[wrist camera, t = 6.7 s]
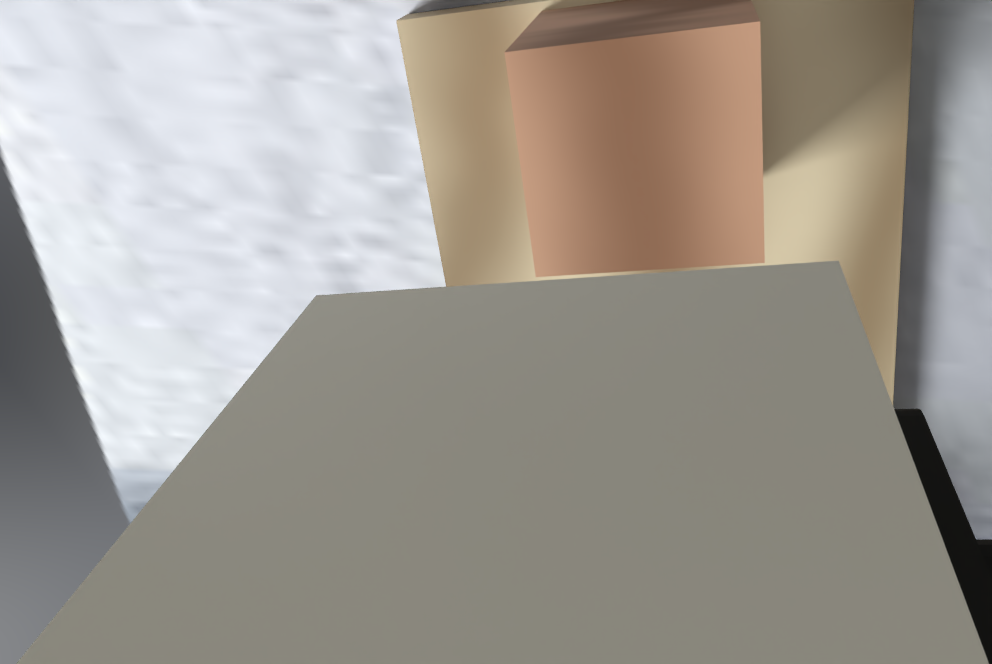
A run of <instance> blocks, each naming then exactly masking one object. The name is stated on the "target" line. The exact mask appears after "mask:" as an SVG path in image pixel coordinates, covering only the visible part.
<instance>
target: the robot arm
mask: <svg viewBox="0 0 992 664" xmlns="http://www.w3.org/2000/svg"><path fill="white" fill-rule="evenodd" d="M894 410H895V413H896V416H897V418H898V421H899V424H900V426H901V429H902V432H903V434H904V437H905V440H906V442H907V445H908V448H909V450H910V453H911V456H912V459H913V461H914V464H915V467H916V469H917V472H918V475H919V477H920V480H921V483H922V485H923V488H924V491H925V493H926V496H927V499H928V501H929V504H930V507H931V510H932V512H933V515H934V518H935V520H936V523H937V526H938V528H939V531H940V534H941V536H942V539H943V542H944V544H945V547H946V550H947V552H948V555H949V558H950V560H951V563H952V566H953V569H954V571H955V574H956V577H957V579H958V582H959V585H960V587H961V590H962V593H963V595H964V598H965V601H966V603H967V606H968V609H969V611H970V614H971V617H972V619H973V622H974V625H975V628H976V630H977V633H978V636H979V638H980V641H981V644H982V646H983V649H984V652H985V654H986V657H987V660H988V662H989V664H992V540H976V539H975V536H974V534H973V531H972V529H971V527H970V524H969V522H968V520H967V517H966V515H965V512H964V510H963V508H962V505H961V503H960V500H959V498H958V496H957V493H956V491H955V489H954V486H953V484H952V481H951V479H950V477H949V474H948V472H947V469H946V467H945V465H944V462H943V460H942V458H941V455H940V453H939V450H938V448H937V446H936V443H935V441H934V438H933V436H932V434H931V431H930V429H929V427H928V424H927V422H926V419H925V417H924V415H923V413H922V411H921V410H920V409H894Z"/></svg>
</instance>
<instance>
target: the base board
mask: <svg viewBox="0 0 992 664" xmlns="http://www.w3.org/2000/svg"><path fill="white" fill-rule="evenodd" d="M913 14H914V0H510V1H502V2H495V3H488V4H480V5H473V6H465V7H458V8H450V9H443V10H435V11H428V12H420V13H413V14H407V15H405V16H404V17H402V18H400V19H398V20H397V27H398V32H399V37H400V43H401V48H402V53H403V59H404V64H405V69H406V75H407V80H408V85H409V91H410V96H411V101H412V107H413V112H414V117H415V123H416V128H417V133H418V139H419V144H420V149H421V155H422V160H423V165H424V171H425V176H426V181H427V186H428V192H429V197H430V202H431V208H432V213H433V218H434V224H435V229H436V234H437V240H438V245H439V250H440V256H441V261H442V266H443V272H444V277H445V282H446V287H451V286H466V285H481V284H496V283H511V282H526V281H541V280H556V279H571V278H586V277H601V276H616V275H631V274H646V273H660V272H675V271H690V270H705V269H720V268H735V267H750V266H765V265H780V264H795V263H810V262H825V261H839V263H840V265H841V268H842V271H843V273H844V276H845V279H846V282H847V284H848V287H849V290H850V292H851V295H852V298H853V300H854V303H855V306H856V308H857V311H858V314H859V316H860V319H861V322H862V324H863V327H864V330H865V332H866V335H867V338H868V341H869V343H870V346H871V349H872V351H873V354H874V357H875V359H876V362H877V365H878V367H879V370H880V373H881V375H882V378H883V381H884V383H885V386H886V389H887V391H888V394H889V397H890V400H891V402H892V405H893V394H894V375H895V356H896V337H897V318H898V299H899V280H900V261H901V242H902V223H903V204H904V185H905V166H906V147H907V128H908V109H909V90H910V71H911V52H912V33H913Z"/></svg>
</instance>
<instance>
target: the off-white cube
mask: <svg viewBox="0 0 992 664" xmlns="http://www.w3.org/2000/svg"><path fill="white" fill-rule="evenodd" d="M17 664H989V662H988V660H987V657H986V654H985V652H984V649H983V646H982V644H981V641H980V638H979V636H978V633H977V630H976V628H975V625H974V622H973V619H972V617H971V614H970V611H969V609H968V606H967V603H966V601H965V598H964V595H963V593H962V590H961V587H960V585H959V582H958V579H957V577H956V574H955V571H954V569H953V566H952V563H951V560H950V558H949V555H948V552H947V550H946V547H945V544H944V542H943V539H942V536H941V534H940V531H939V528H938V526H937V523H936V520H935V518H934V515H933V512H932V510H931V507H930V504H929V501H928V499H927V496H926V493H925V491H924V488H923V485H922V483H921V480H920V477H919V475H918V472H917V469H916V467H915V464H914V461H913V459H912V456H911V453H910V450H909V448H908V445H907V442H906V440H905V437H904V434H903V432H902V429H901V426H900V424H899V421H898V418H897V416H896V413H895V410H894V408H893V405H892V402H891V400H890V397H889V394H888V391H887V389H886V386H885V383H884V381H883V378H882V375H881V373H880V370H879V367H878V365H877V362H876V359H875V357H874V354H873V351H872V349H871V346H870V343H869V341H868V338H867V335H866V332H865V330H864V327H863V324H862V322H861V319H860V316H859V314H858V311H857V308H856V306H855V303H854V300H853V298H852V295H851V292H850V290H849V287H848V284H847V282H846V279H845V276H844V273H843V271H842V268H841V265H840V263H839V261H825V262H810V263H795V264H780V265H765V266H750V267H735V268H720V269H705V270H690V271H675V272H660V273H646V274H631V275H616V276H601V277H586V278H571V279H556V280H541V281H526V282H511V283H496V284H481V285H466V286H451V287H436V288H421V289H406V290H391V291H376V292H361V293H346V294H331V295H316V296H315V298H314V299H313V300H312V301H311V303H310V304H309V305H308V306H307V307H306V309H305V310H304V311H303V312H302V314H301V315H300V316H299V317H298V319H297V320H296V321H295V322H294V323H293V325H292V326H291V327H290V328H289V330H288V331H287V332H286V333H285V334H284V336H283V337H282V338H281V339H280V341H279V342H278V343H277V344H276V346H275V347H274V348H273V349H272V350H271V352H270V353H269V354H268V355H267V357H266V358H265V359H264V360H263V361H262V363H261V364H260V365H259V366H258V368H257V369H256V370H255V371H254V373H253V374H252V375H251V376H250V377H249V379H248V380H247V381H246V382H245V384H244V385H243V386H242V387H241V389H240V390H239V391H238V392H237V393H236V395H235V396H234V397H233V398H232V400H231V401H230V402H229V403H228V404H227V406H226V407H225V408H224V409H223V411H222V412H221V413H220V414H219V416H218V417H217V418H216V419H215V420H214V422H213V423H212V424H211V425H210V427H209V428H208V429H207V430H206V431H205V433H204V434H203V435H202V436H201V438H200V439H199V440H198V441H197V443H196V444H195V445H194V446H193V447H192V449H191V450H190V451H189V452H188V454H187V455H186V456H185V457H184V459H183V460H182V461H181V462H180V463H179V465H178V466H177V467H176V468H175V470H174V471H173V472H172V473H171V474H170V476H169V477H168V478H167V479H166V481H165V482H164V483H163V484H162V486H161V487H160V488H159V489H158V490H157V492H156V493H155V494H154V495H153V497H152V498H151V499H150V500H149V501H148V503H147V504H146V505H145V506H144V508H143V509H142V510H141V511H140V513H139V514H138V515H137V516H136V517H135V519H134V520H133V521H132V522H131V524H130V525H129V526H128V527H127V529H126V530H125V531H124V532H123V533H122V535H121V536H120V537H119V538H118V540H117V541H116V542H115V543H114V545H113V546H112V547H111V548H110V550H109V551H108V552H107V553H106V554H105V556H104V557H103V558H102V559H101V560H100V562H99V563H98V564H97V565H96V567H95V568H94V569H93V570H92V571H91V573H90V574H89V575H88V576H87V578H86V579H85V580H84V581H83V583H82V584H81V585H80V586H79V588H78V589H77V590H76V591H75V592H74V594H73V595H72V596H71V597H70V599H69V600H68V601H67V602H66V603H65V605H64V606H63V607H62V608H61V610H60V611H59V612H58V613H57V614H56V616H55V617H54V618H53V619H52V621H51V622H50V623H49V624H48V626H47V627H46V628H45V629H44V630H43V632H42V633H41V634H40V635H39V637H38V638H37V639H36V640H35V641H34V643H33V644H32V645H31V646H30V648H29V649H28V650H27V651H26V653H25V654H24V655H23V656H22V658H21V659H20V660H19V661H18V662H17Z"/></svg>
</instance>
